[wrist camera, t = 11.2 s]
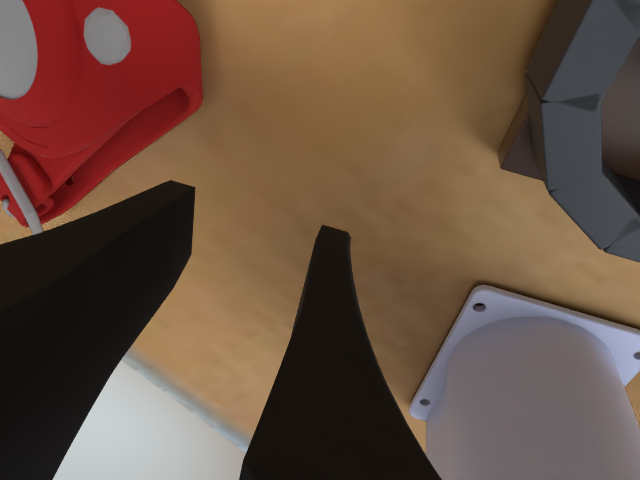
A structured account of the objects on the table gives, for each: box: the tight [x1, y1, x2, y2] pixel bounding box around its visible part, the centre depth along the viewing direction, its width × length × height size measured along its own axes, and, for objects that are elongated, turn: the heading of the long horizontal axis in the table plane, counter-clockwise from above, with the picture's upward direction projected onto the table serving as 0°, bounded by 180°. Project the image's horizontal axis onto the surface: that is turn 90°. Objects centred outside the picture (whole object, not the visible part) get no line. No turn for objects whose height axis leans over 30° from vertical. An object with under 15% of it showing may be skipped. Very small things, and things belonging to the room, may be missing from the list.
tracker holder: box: [0, 0, 203, 235], centre depth 18 cm, size 12×4×10 cm
